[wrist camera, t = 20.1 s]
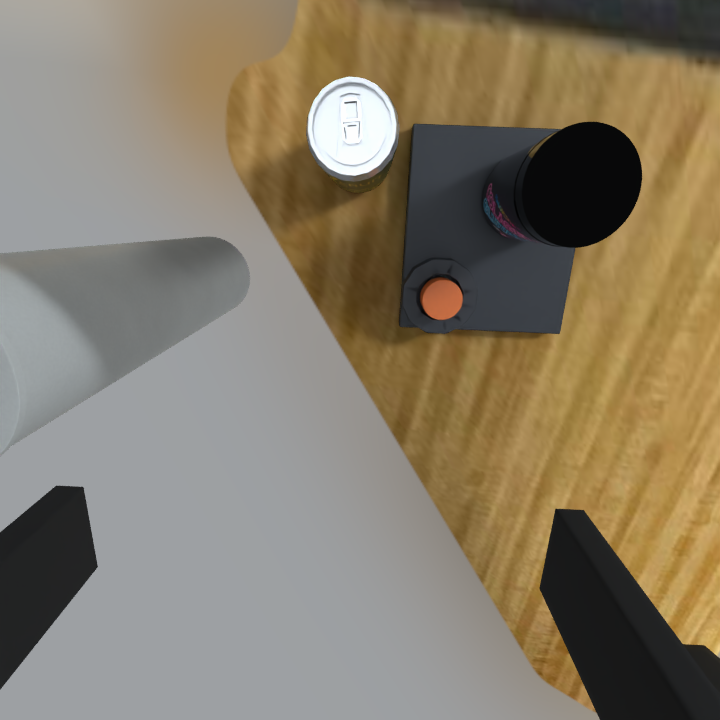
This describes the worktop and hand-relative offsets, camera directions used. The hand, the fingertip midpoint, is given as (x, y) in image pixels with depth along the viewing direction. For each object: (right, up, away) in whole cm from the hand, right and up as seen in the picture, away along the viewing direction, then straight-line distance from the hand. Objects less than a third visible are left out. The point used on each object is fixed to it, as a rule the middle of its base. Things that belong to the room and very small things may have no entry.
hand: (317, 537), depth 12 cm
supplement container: (+14, +18, +23) cm, 32 cm away
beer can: (+1, +22, +23) cm, 32 cm away
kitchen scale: (+12, +16, +25) cm, 32 cm away
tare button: (+8, +10, +24) cm, 27 cm away
